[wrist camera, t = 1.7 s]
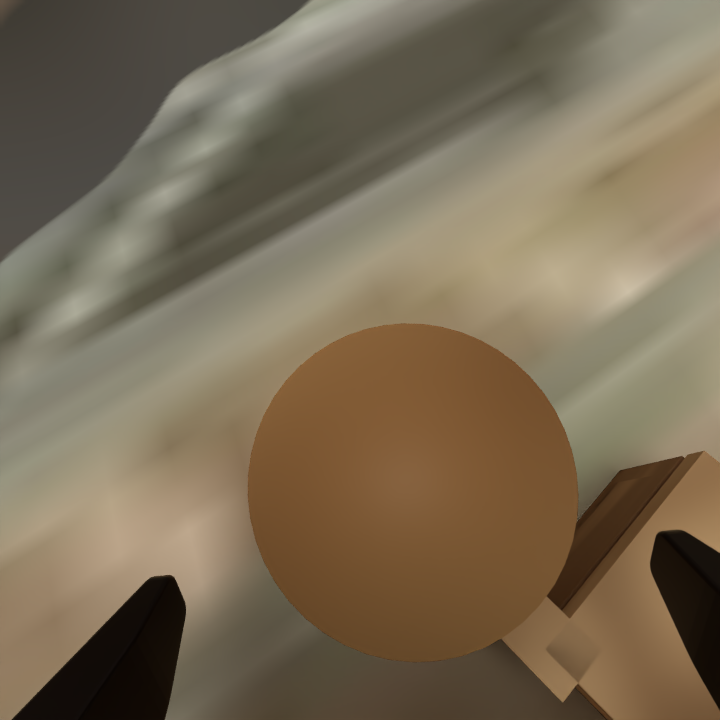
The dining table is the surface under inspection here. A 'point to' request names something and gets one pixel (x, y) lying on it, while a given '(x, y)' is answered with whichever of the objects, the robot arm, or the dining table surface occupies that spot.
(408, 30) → the dining table surface
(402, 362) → the key peg
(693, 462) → the lid
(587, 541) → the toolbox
